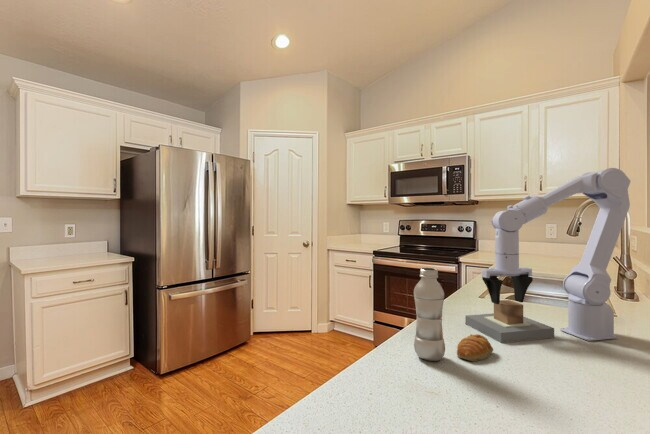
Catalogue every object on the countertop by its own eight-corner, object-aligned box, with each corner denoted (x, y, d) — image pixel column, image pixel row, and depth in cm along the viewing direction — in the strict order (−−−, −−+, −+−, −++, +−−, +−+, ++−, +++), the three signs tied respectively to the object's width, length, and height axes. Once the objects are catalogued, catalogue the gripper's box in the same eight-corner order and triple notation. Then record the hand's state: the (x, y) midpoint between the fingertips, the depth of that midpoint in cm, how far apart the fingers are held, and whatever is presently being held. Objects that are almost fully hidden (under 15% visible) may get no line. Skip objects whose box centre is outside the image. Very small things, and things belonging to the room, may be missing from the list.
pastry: (480, 367, 66) (480, 349, 66) (449, 357, 71) (448, 340, 71) (494, 353, 73) (494, 337, 73) (465, 345, 77) (464, 330, 77)
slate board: (512, 320, 95) (512, 311, 95) (554, 337, 81) (554, 327, 81) (465, 323, 92) (465, 314, 92) (501, 342, 78) (500, 331, 78)
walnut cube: (509, 317, 89) (508, 299, 89) (523, 323, 84) (523, 304, 84) (493, 318, 88) (493, 300, 88) (507, 324, 83) (507, 305, 83)
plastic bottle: (442, 367, 65) (441, 272, 65) (410, 359, 69) (409, 269, 69) (448, 356, 71) (447, 268, 71) (418, 349, 74) (417, 265, 74)
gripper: (517, 251, 92) (518, 297, 92) (474, 252, 89) (474, 300, 89) (538, 254, 85) (538, 303, 85) (492, 255, 82) (492, 307, 82)
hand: (507, 302), depth 86 cm, fingers open, 7 cm apart
